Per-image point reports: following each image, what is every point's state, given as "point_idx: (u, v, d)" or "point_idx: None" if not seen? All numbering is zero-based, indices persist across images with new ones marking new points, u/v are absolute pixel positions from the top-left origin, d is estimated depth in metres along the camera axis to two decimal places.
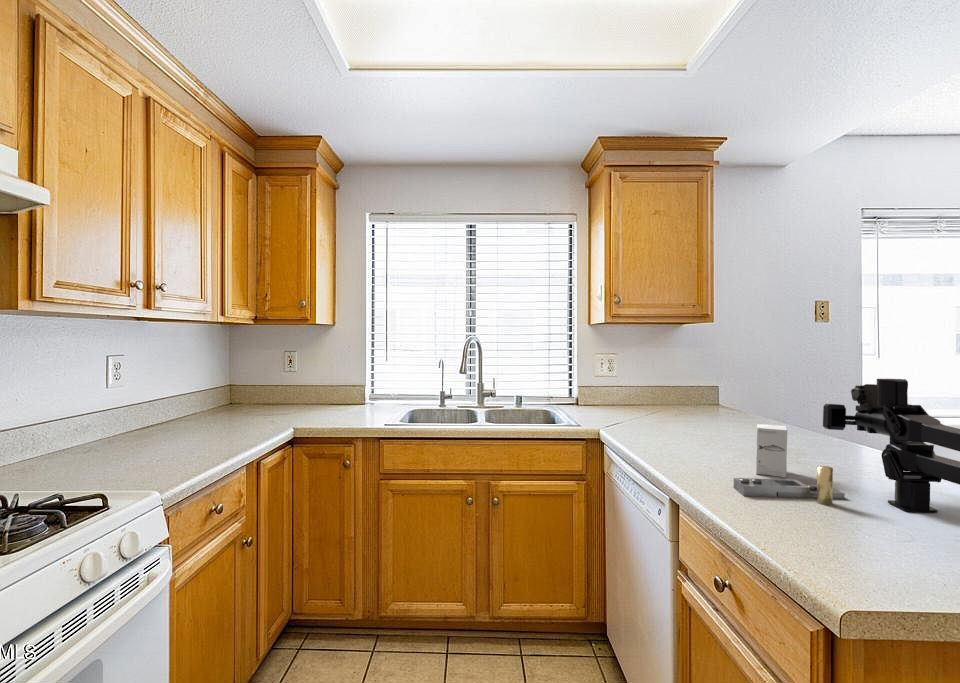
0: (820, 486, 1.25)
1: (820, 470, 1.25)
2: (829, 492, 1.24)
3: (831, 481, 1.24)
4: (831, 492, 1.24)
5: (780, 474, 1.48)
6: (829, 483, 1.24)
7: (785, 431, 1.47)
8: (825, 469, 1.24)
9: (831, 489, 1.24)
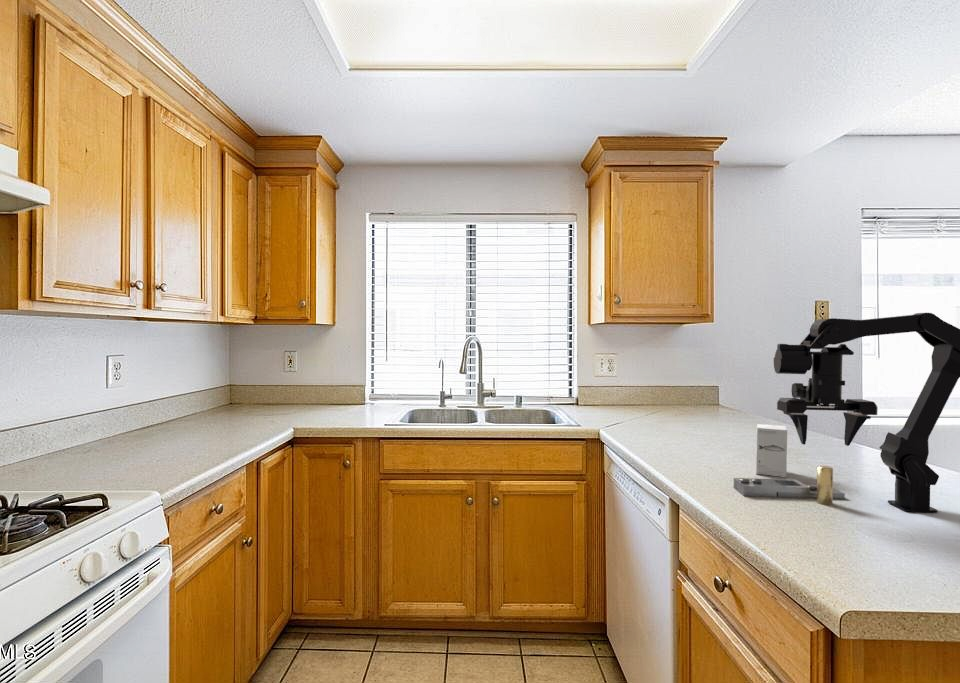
0: (820, 486, 1.25)
1: (820, 470, 1.25)
2: (829, 492, 1.24)
3: (831, 481, 1.24)
4: (831, 492, 1.24)
5: (780, 474, 1.48)
6: (829, 483, 1.24)
7: (785, 431, 1.47)
8: (825, 469, 1.24)
9: (831, 489, 1.24)
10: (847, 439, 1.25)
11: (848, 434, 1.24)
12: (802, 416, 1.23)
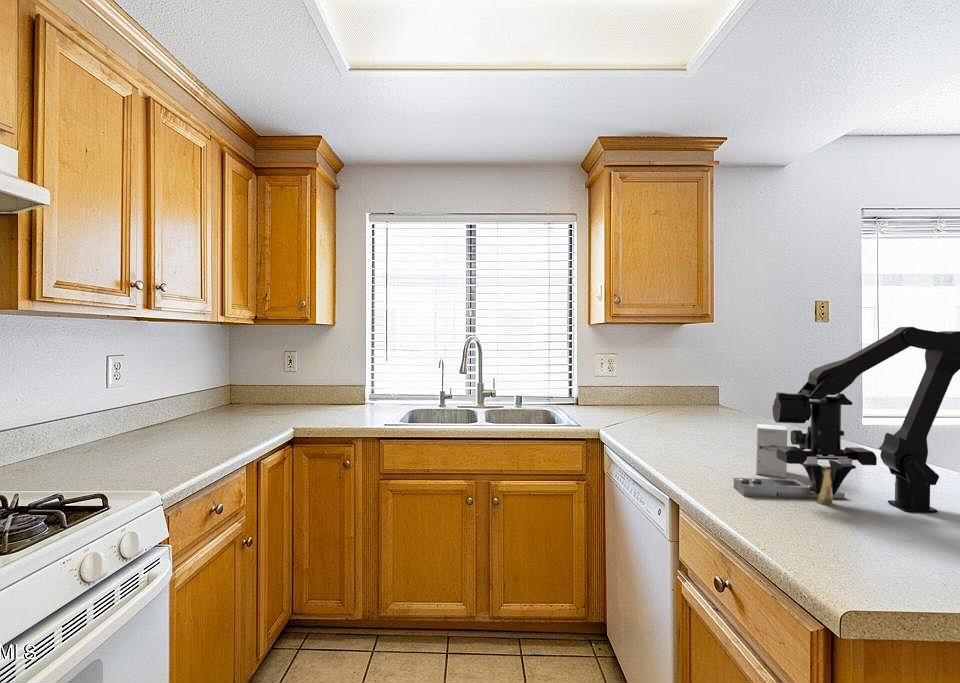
0: (820, 486, 1.25)
1: None
2: (829, 492, 1.24)
3: (831, 481, 1.24)
4: (831, 492, 1.24)
5: (780, 474, 1.48)
6: (829, 483, 1.24)
7: (785, 431, 1.47)
8: (825, 469, 1.24)
9: (831, 489, 1.24)
10: (833, 488, 1.25)
11: (834, 483, 1.25)
12: (816, 467, 1.23)
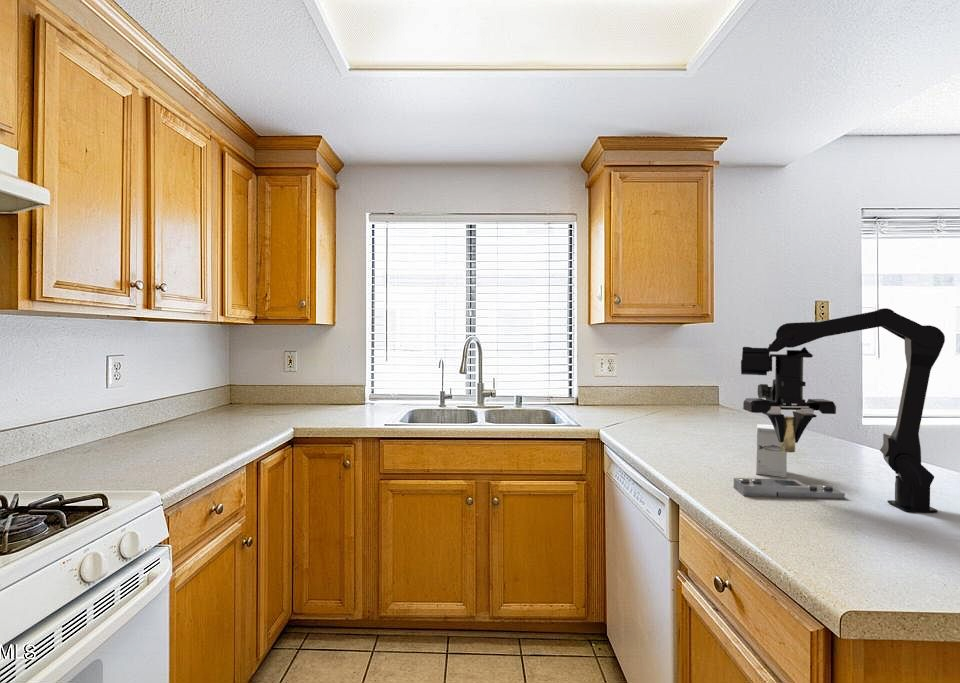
0: None
1: (784, 420, 1.32)
2: (792, 440, 1.31)
3: (794, 429, 1.31)
4: (793, 440, 1.31)
5: (780, 474, 1.48)
6: (792, 431, 1.31)
7: None
8: (788, 418, 1.31)
9: (794, 437, 1.31)
10: (795, 436, 1.32)
11: (796, 431, 1.32)
12: (779, 416, 1.30)
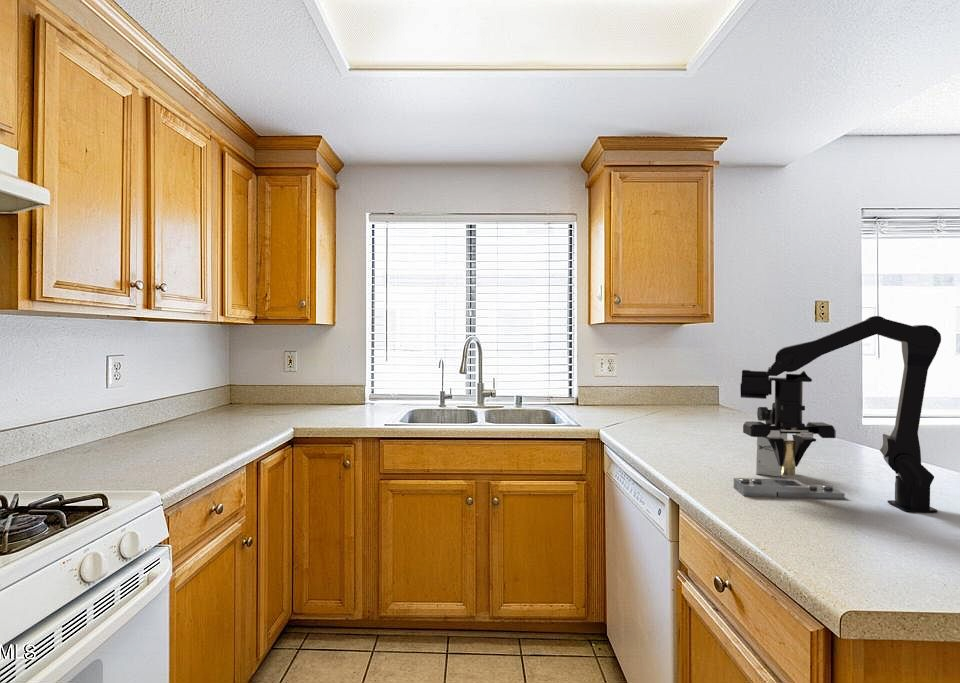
0: (783, 458, 1.32)
1: None
2: (791, 464, 1.31)
3: (794, 453, 1.32)
4: (793, 463, 1.32)
5: (780, 474, 1.48)
6: (791, 455, 1.31)
7: None
8: (788, 442, 1.32)
9: (793, 461, 1.32)
10: (795, 460, 1.32)
11: (796, 455, 1.32)
12: (778, 440, 1.30)
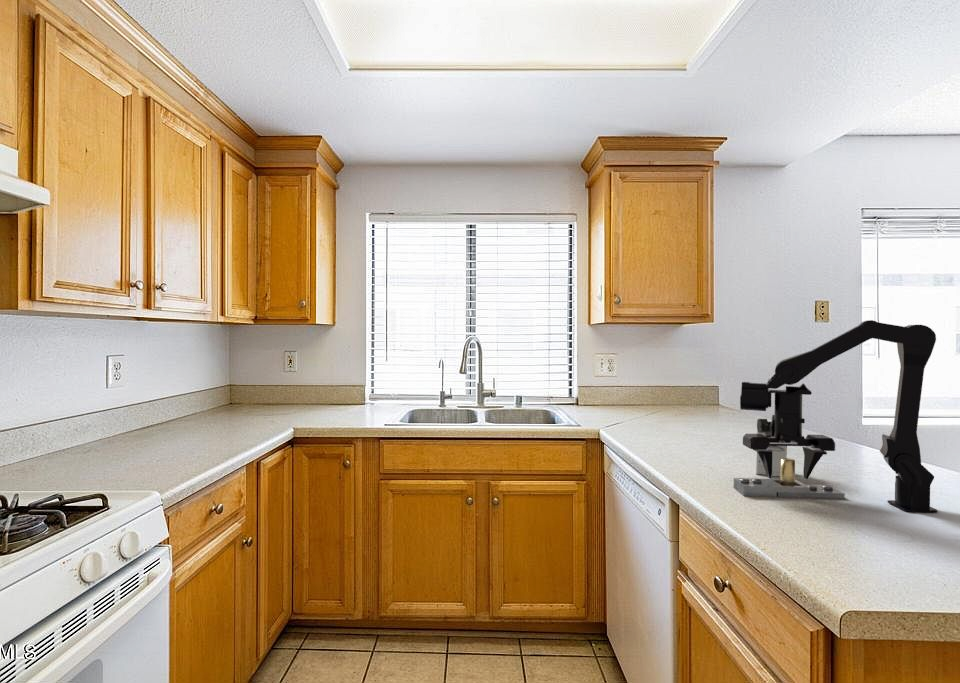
0: (783, 477, 1.33)
1: (783, 462, 1.32)
2: (791, 483, 1.32)
3: (793, 472, 1.32)
4: (792, 482, 1.32)
5: None
6: (791, 474, 1.32)
7: None
8: (787, 461, 1.32)
9: (793, 480, 1.32)
10: (805, 473, 1.32)
11: (807, 468, 1.32)
12: (767, 452, 1.31)
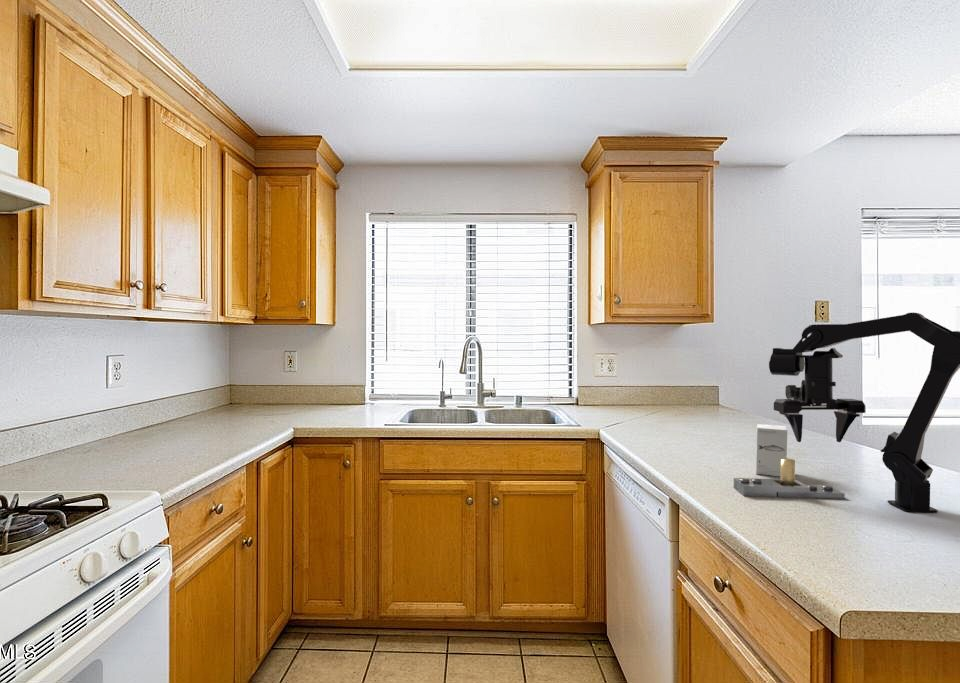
0: (783, 477, 1.33)
1: (783, 462, 1.32)
2: (791, 483, 1.32)
3: (793, 472, 1.32)
4: (792, 482, 1.32)
5: None
6: (791, 474, 1.32)
7: (785, 431, 1.47)
8: (787, 461, 1.32)
9: (793, 480, 1.32)
10: (838, 436, 1.34)
11: (840, 431, 1.34)
12: (798, 416, 1.32)
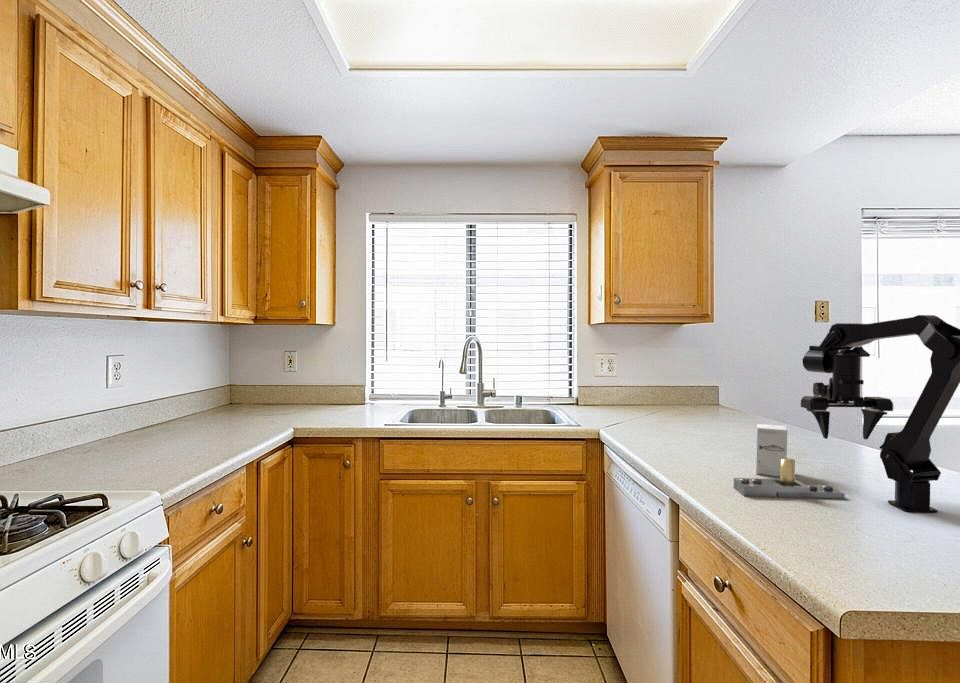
0: (783, 477, 1.33)
1: (783, 462, 1.32)
2: (791, 483, 1.32)
3: (793, 472, 1.32)
4: (792, 482, 1.32)
5: None
6: (791, 474, 1.32)
7: (785, 431, 1.47)
8: (787, 461, 1.32)
9: (793, 480, 1.32)
10: (865, 433, 1.36)
11: (867, 428, 1.36)
12: (825, 413, 1.35)
